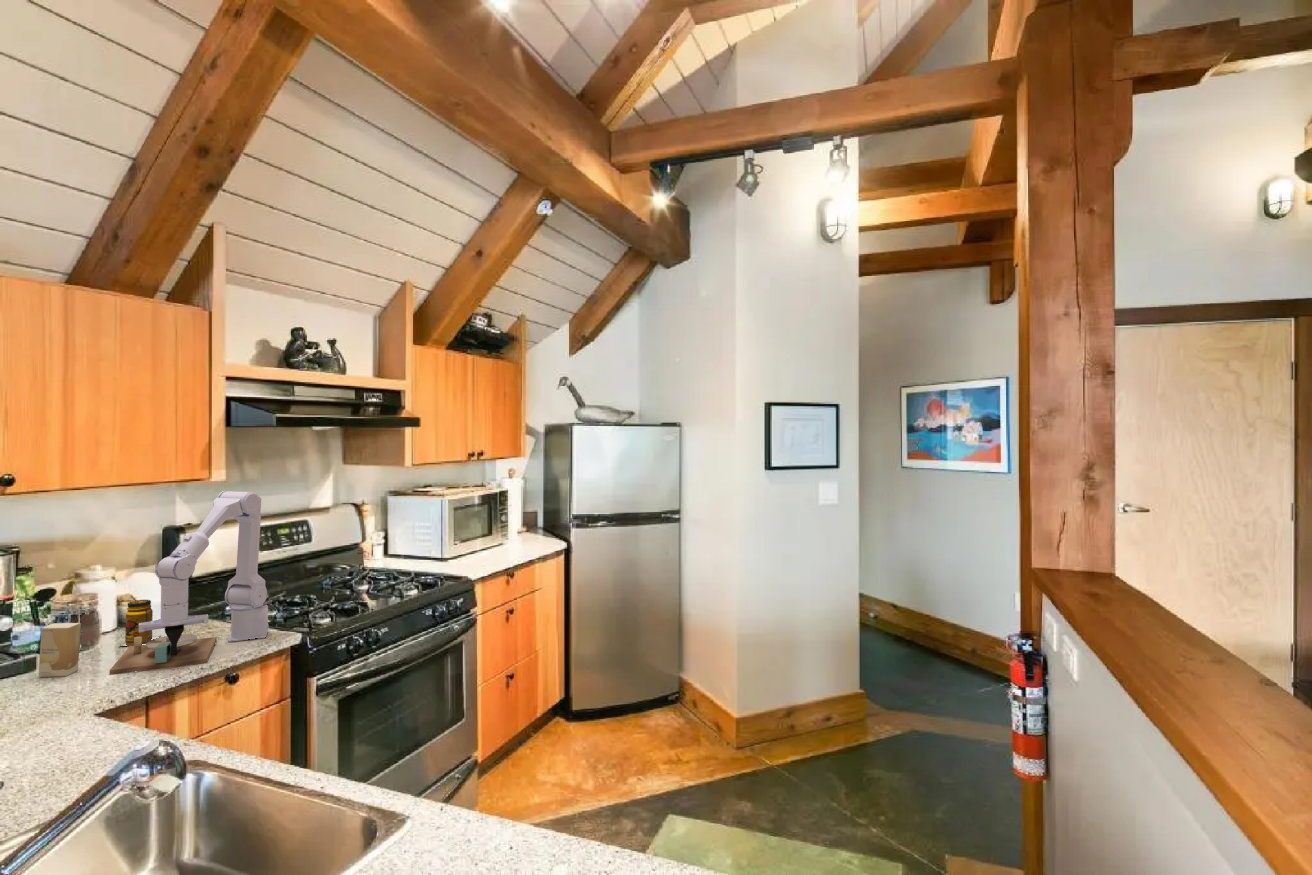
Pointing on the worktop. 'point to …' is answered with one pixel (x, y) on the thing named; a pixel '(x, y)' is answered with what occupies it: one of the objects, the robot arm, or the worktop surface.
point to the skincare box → (59, 649)
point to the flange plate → (168, 646)
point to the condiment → (138, 621)
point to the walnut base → (145, 660)
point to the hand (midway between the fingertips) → (173, 654)
